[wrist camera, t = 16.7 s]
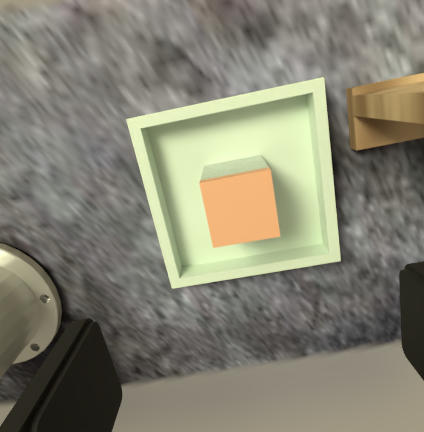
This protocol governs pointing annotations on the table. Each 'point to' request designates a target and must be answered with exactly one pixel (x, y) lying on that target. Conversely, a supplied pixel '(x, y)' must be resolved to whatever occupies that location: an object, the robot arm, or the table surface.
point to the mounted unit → (386, 112)
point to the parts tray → (231, 150)
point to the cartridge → (239, 201)
